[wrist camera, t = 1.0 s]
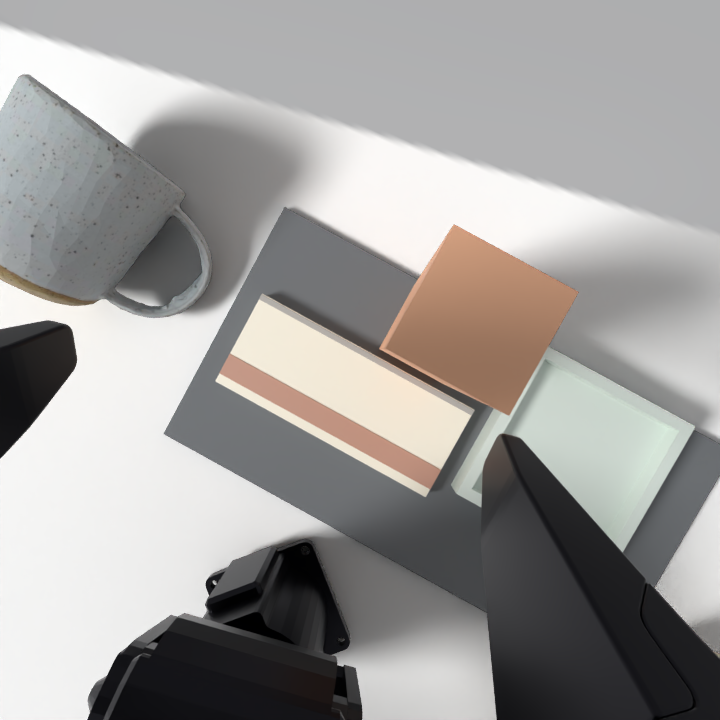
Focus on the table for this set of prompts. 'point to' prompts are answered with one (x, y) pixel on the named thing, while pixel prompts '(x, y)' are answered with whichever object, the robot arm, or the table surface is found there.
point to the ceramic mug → (79, 206)
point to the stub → (478, 320)
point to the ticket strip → (344, 395)
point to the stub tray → (587, 442)
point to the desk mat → (354, 478)
